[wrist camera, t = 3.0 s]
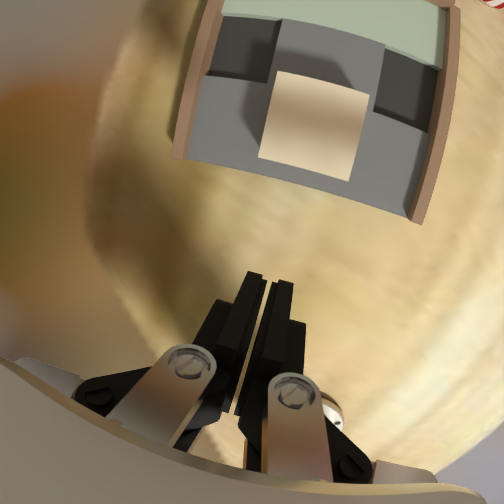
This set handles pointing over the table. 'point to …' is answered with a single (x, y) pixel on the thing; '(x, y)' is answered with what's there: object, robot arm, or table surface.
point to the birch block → (313, 125)
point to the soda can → (494, 3)
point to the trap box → (333, 71)
